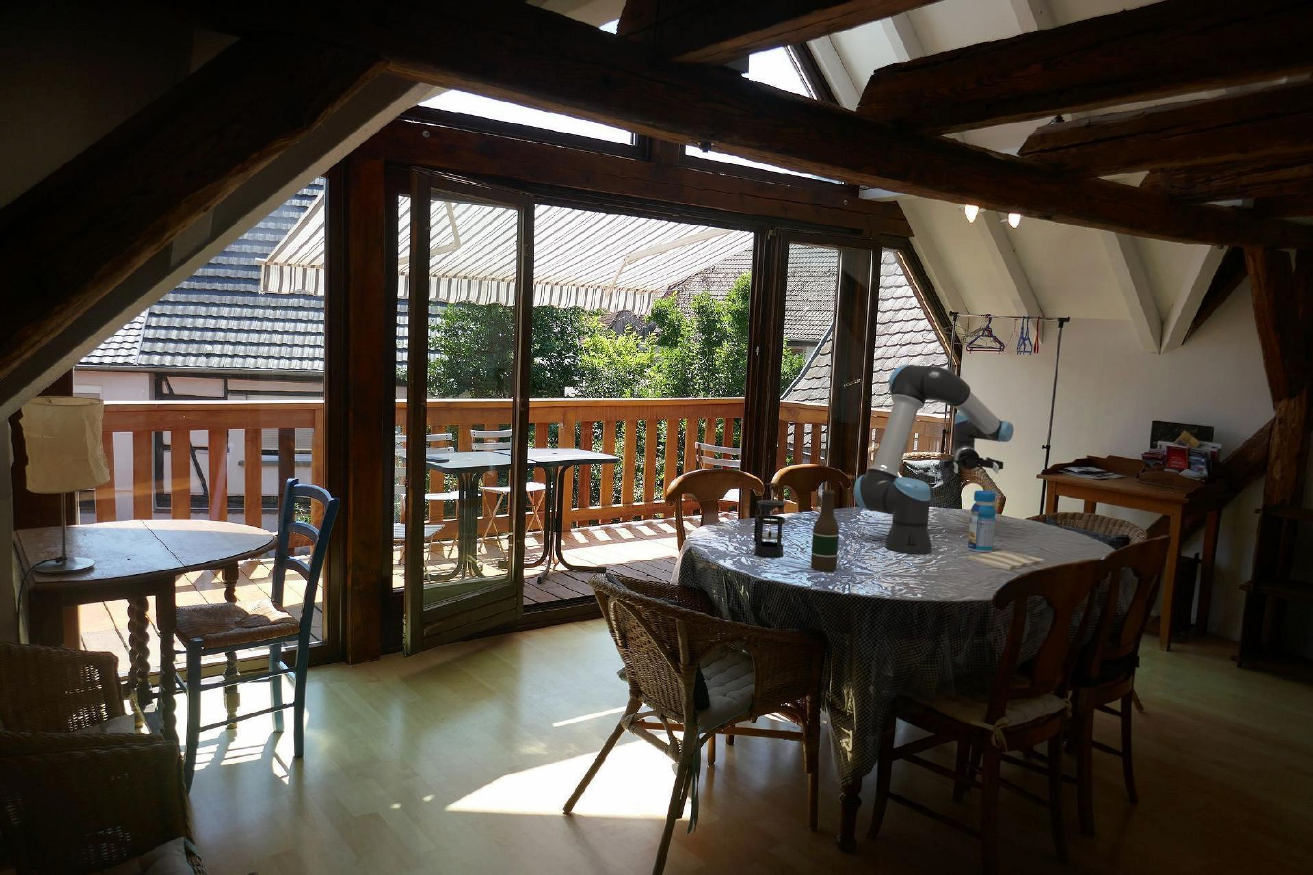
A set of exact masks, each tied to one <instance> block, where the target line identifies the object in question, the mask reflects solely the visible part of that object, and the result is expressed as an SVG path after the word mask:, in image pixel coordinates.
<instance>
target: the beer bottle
mask: <svg viewBox="0 0 1313 875" xmlns="http://www.w3.org/2000/svg"><path fill="white" fill-rule="evenodd" d="M835 493H836V492H835V490H832V489H823V490H822V493H821V494H822V501H821V508H820V514H819V517H818V518H817V519H816V520H815V523H814V526H813V530H812V539H811V540H812V543H811V557H810V558H811V560H810V566H811V569H813V570H815V571H817V572H825V573H827V572H834V571H836V569H837V566H838V565H837V564H838V553H839V552H838V551H839V537H840V530H839V528H840V527H839V524H838V523H839V522H837V520H836V517H835V514H834V513H835V511H834V510H835V509H834V504H835V502H834V500H835V499H834V497H835V496H834V495H835Z"/></svg>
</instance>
